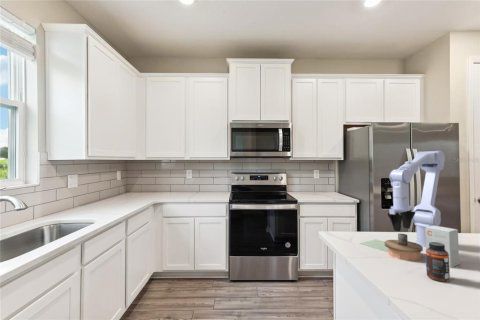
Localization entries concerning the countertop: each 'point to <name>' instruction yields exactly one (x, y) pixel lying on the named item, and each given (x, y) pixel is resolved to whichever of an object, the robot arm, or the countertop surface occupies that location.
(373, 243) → the mat
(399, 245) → the lid
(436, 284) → the countertop surface
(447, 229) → the small box
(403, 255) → the bowl
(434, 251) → the supplement bottle
